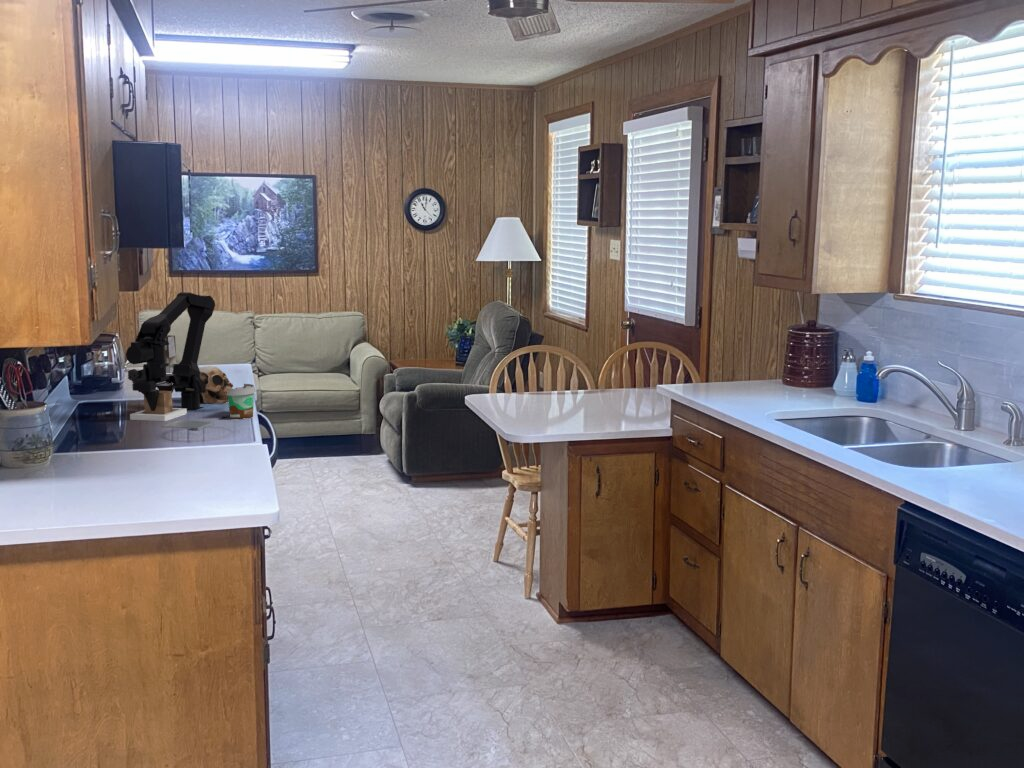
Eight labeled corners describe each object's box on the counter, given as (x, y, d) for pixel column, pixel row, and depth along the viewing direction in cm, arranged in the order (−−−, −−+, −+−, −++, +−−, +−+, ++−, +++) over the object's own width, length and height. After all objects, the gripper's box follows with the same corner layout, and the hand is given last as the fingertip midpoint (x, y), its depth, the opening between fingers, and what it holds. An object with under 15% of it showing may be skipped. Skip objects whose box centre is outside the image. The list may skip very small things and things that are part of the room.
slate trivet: (179, 422, 307) (179, 420, 307) (214, 424, 305) (214, 421, 305) (161, 428, 297) (161, 426, 297) (197, 430, 295) (197, 427, 295)
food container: (246, 421, 310) (244, 389, 308) (228, 420, 311) (226, 389, 310) (263, 414, 322) (262, 384, 320) (246, 413, 323) (244, 383, 322)
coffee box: (178, 373, 416) (176, 335, 414) (170, 375, 410) (168, 336, 408) (158, 372, 418) (156, 334, 416) (150, 374, 412) (148, 336, 409)
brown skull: (241, 402, 344) (234, 364, 342) (189, 411, 337) (183, 372, 335) (233, 397, 358) (227, 361, 356) (184, 405, 351) (178, 368, 349)
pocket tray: (153, 414, 322) (153, 407, 321) (186, 415, 319) (186, 408, 319) (130, 421, 309) (129, 414, 309) (164, 423, 307) (164, 415, 306)
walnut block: (153, 414, 317) (151, 390, 316) (172, 415, 315) (171, 391, 314) (145, 417, 312) (143, 392, 311) (165, 418, 311) (163, 393, 310)
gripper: (149, 356, 322) (152, 403, 324) (115, 363, 304) (118, 413, 306) (180, 357, 320) (182, 404, 322) (148, 364, 302) (150, 414, 304)
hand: (158, 409), depth 314 cm, fingers open, 6 cm apart
